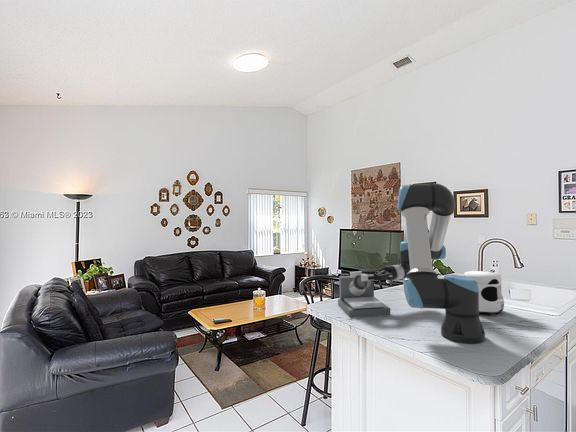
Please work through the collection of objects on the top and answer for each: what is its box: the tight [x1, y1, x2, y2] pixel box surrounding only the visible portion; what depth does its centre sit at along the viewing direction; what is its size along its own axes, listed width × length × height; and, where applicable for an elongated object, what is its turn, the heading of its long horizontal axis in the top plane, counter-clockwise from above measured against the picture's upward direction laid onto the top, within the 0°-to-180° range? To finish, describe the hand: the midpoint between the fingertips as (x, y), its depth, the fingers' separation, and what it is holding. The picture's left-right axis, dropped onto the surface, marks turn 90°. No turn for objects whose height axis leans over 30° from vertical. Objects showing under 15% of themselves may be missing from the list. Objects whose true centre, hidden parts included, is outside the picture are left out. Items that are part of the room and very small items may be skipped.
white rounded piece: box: [463, 270, 505, 315], centre depth 158 cm, size 17×17×18 cm
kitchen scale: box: [337, 275, 391, 318], centre depth 166 cm, size 22×20×15 cm
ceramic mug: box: [349, 274, 371, 290], centre depth 165 cm, size 11×8×8 cm
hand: (355, 276), depth 162 cm, fingers closed on ceramic mug, 10 cm apart
